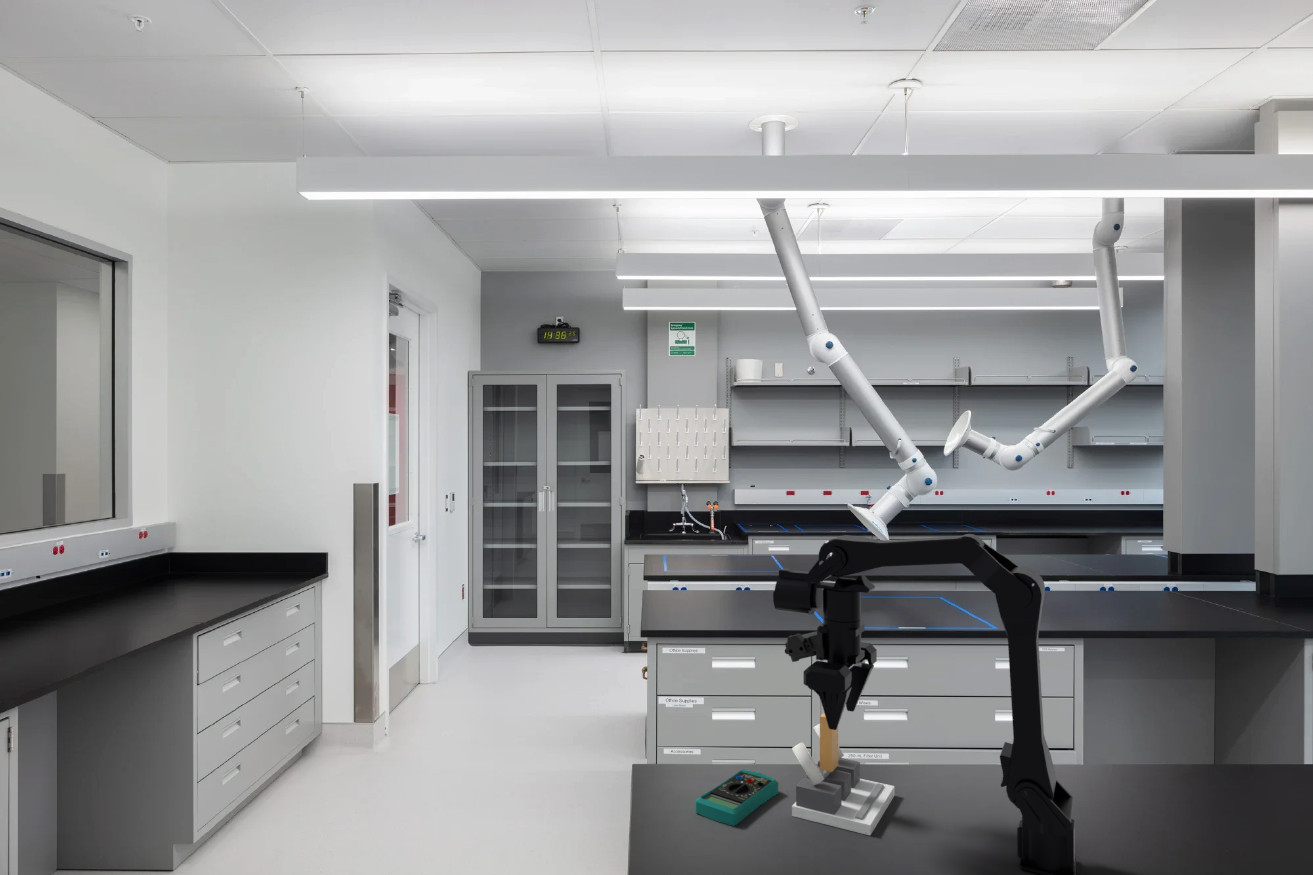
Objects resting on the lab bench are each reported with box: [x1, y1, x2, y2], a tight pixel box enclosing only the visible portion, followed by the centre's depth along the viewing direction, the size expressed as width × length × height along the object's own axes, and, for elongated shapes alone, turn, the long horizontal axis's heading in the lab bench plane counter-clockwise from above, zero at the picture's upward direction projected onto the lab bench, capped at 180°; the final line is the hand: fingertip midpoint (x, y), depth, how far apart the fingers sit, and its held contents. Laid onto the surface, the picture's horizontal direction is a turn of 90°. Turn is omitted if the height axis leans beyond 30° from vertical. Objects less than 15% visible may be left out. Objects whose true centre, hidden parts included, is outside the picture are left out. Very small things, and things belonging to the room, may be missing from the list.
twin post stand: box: [791, 723, 896, 836], centre depth 123 cm, size 13×15×11 cm
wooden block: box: [819, 712, 839, 777], centre depth 124 cm, size 2×4×9 cm, turn 150°
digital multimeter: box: [694, 769, 779, 827], centre depth 124 cm, size 7×15×3 cm, turn 143°
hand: (841, 719), depth 119 cm, fingers open, 9 cm apart
